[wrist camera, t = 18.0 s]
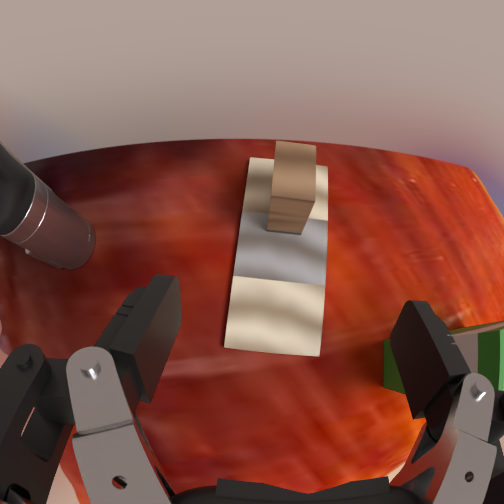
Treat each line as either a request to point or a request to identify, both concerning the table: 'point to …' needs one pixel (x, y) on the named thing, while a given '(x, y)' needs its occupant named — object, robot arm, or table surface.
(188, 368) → the table surface
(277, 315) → the board
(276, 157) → the block
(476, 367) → the hardback book
